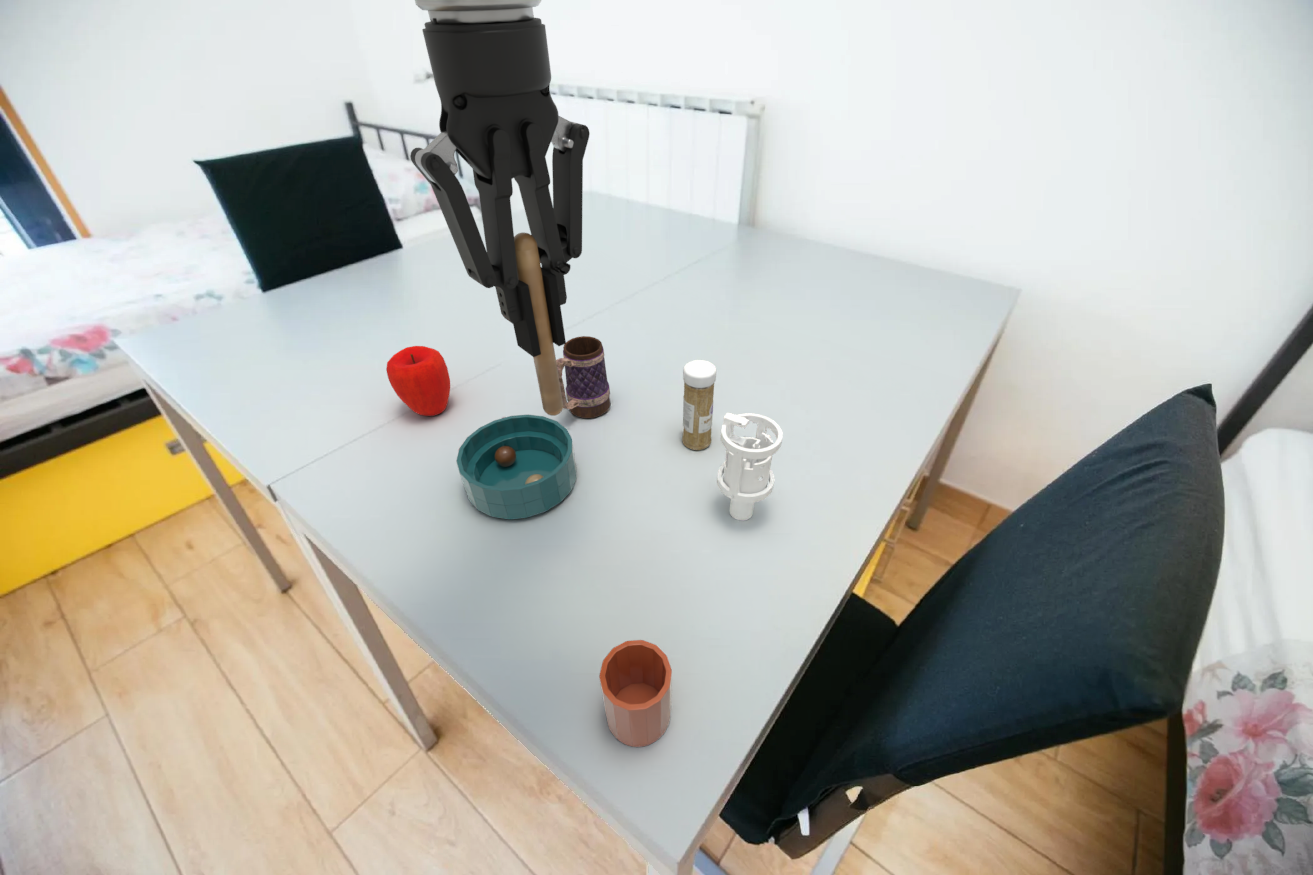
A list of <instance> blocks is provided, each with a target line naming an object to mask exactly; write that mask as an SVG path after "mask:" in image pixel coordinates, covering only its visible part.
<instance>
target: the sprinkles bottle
mask: <svg viewBox="0 0 1313 875" xmlns="http://www.w3.org/2000/svg"><path fill="white" fill-rule="evenodd" d="M682 373H683V374H682V380H683V385H684V386H683V387H684V388H683V402H682V427H683V428H682V437H681V441H682V444H683V445H684V447H686V448H687V449H690V450H693V451H701V450H705V449H707V448H708V447H709V446H710V445H711V443H712V426H713V415H714V414H713V413H714V394H715V383H716V380H717V366H715V364H713V363H712V362H711V361H708V360H705V359H694V360H690V361H689V362H687V363H686V364H685V365H684V366H683V371H682Z"/></svg>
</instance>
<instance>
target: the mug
mask: <svg viewBox="0 0 1313 875" xmlns="http://www.w3.org/2000/svg"><path fill="white" fill-rule="evenodd" d="M562 349H563V350H562V357H559V358H556V363H557V369H558V375H559V381H560V388H561V394H562V400H563V410H569V412H570V413H571V414H572V415H574V416H575V417H577V418H582V419H594V418H597V417H601V416H602V415H604V414H605V413H606V412H607V411H608V410H609V409H610V407H611V398H610V395H611V389H610V384H609V382H608V375H607V374H608V373H607V367H606V361H605V350H604V346H603V342H602V341H601V340H600V339H598V338H596V337H593V336H587V335H586V336H585V335H581V336H576V337H572V338H571V339H569V340H566V344H563V348H562ZM563 370H564V374H565V384H566V386H565V384H564V380H563Z"/></svg>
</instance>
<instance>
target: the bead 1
mask: <svg viewBox="0 0 1313 875" xmlns="http://www.w3.org/2000/svg"><path fill="white" fill-rule="evenodd" d="M515 460H516V452H515V450H514V449H513V448H511V447H509V446H502V447H500V448H498V449H497V451H496V452H495V461H496V462H497V463H498V464H499V465H500V466H503V467H508V466H510V465H512V464H513V463H514V462H515Z"/></svg>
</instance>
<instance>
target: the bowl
mask: <svg viewBox="0 0 1313 875" xmlns="http://www.w3.org/2000/svg"><path fill="white" fill-rule="evenodd" d="M502 446H509V447H511V448H513V449H514V450H515V452H516V460H515V462H514V463H513V464H512V465H510V466H508V467H503V466H500V465H499V464H498V463H497V462H496V461H495V452H496V451H497V449H498V448H500V447H502ZM576 462H577V461H576V456H575V448H574V442H573V438H572V436H571V434H570V432H569V431H568V429H567V428H566V427H565V426H564V425H563V424H561V423H560V422H559V421H557V420H555V419H552V418H549V417H547V416H544V415H535V414H517V415H509V416H506V417H501V418H497V419H495V420H491V421H490V422H489V423H486V424H484V425H482V426H480V427H478V428H477V429H476V430H475V431H473V432H472V433H471V434H470V435H468V436H467V437H466V438H465V440H464V441H463V442H462V444H461V445H460V447H459V448H458V453H457V456H456V466H457V468H458V472H459V475H460V478H461V482H462V484H463V486H464V490H465V493H466V495H467V496H466V497H467V499H468V501H469V503H471V504H472V506H474V508H475V509H476V510H477V511H479V512H481V513H483V514H485V515H487V516H489V517H491V518H497V519H504V520H517V519H527V518H531V517H534V516H537V515H540V514H543V513H546V512H547V511H549V510H551V509H552V508H554V507H555V506H557V505H559V504H560V503H562V502H563V500H564V499H565V498H567V496H568V495H569V494H570V493H571V492H572V489H573V488H574V485H575V483H576V480H577V463H576ZM534 474H539V475H542V476H543V478H541V479H539V480H537V481H534V482H531V483H528V484H525V482H526V480H527V479H528V477H530V476H531V475H534Z"/></svg>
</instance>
